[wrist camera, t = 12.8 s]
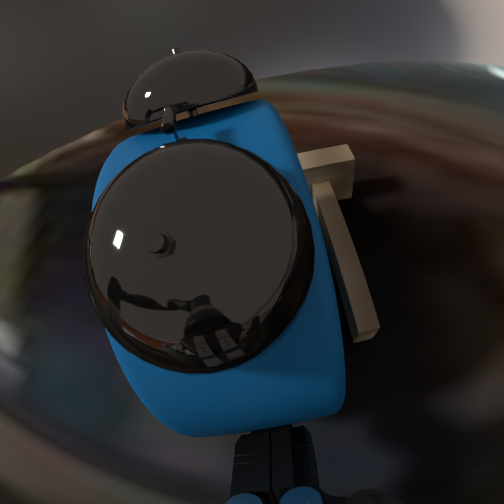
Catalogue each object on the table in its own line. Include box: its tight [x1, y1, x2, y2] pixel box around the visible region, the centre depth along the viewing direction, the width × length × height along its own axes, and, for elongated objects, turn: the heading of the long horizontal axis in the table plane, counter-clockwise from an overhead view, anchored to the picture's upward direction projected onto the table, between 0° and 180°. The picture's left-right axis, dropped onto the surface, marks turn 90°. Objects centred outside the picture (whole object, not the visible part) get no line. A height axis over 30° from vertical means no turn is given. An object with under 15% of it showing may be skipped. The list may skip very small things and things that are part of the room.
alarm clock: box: [83, 48, 346, 437], centre depth 13 cm, size 13×6×15 cm, turn 9°
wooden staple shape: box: [297, 144, 380, 344], centre depth 19 cm, size 16×12×4 cm
